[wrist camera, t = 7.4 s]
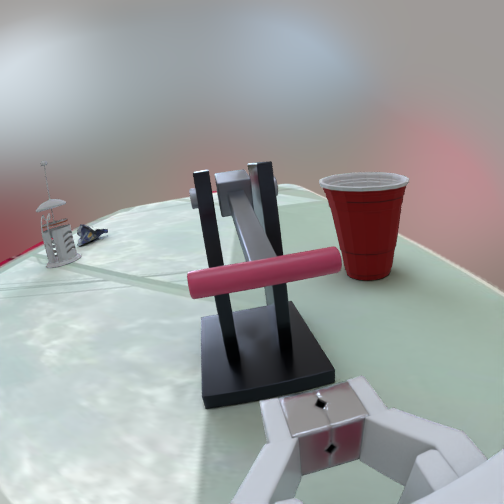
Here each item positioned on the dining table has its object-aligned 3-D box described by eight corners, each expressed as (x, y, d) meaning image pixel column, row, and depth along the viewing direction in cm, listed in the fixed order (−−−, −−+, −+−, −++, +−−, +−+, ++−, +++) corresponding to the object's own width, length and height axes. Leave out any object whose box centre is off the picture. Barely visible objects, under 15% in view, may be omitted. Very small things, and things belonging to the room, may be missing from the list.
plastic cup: (337, 296, 34) (329, 182, 30) (319, 264, 44) (310, 176, 41) (426, 281, 33) (425, 175, 30) (391, 254, 44) (387, 170, 40)
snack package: (66, 247, 88) (81, 247, 81) (64, 226, 87) (79, 224, 80) (98, 242, 98) (116, 242, 91) (96, 222, 97) (114, 220, 90)
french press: (85, 252, 75) (67, 155, 68) (73, 265, 64) (50, 154, 57) (53, 259, 73) (34, 165, 66) (37, 272, 62) (15, 165, 55)
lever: (341, 290, 13) (343, 238, 12) (196, 318, 13) (183, 265, 11) (272, 196, 24) (270, 165, 23) (193, 208, 24) (188, 177, 23)
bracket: (335, 382, 21) (322, 156, 17) (205, 409, 20) (151, 181, 16) (292, 311, 32) (275, 159, 28) (203, 327, 31) (174, 175, 27)
